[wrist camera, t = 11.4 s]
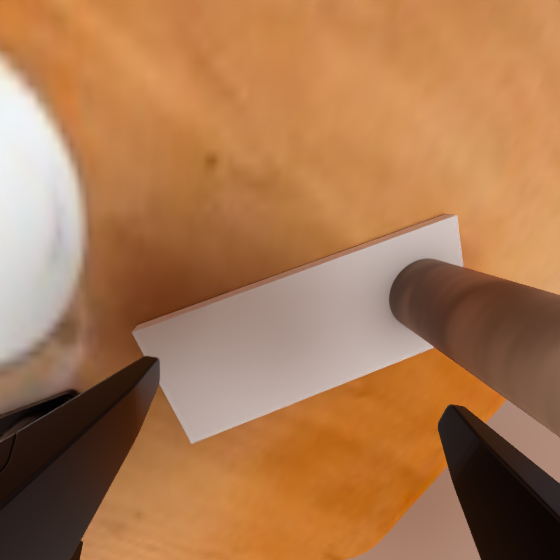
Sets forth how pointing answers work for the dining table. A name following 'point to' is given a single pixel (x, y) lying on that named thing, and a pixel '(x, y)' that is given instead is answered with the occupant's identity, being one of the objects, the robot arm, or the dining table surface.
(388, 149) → the dining table surface
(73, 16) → the dining table surface
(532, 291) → the pepper mill
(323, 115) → the dining table surface
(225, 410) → the grey board
